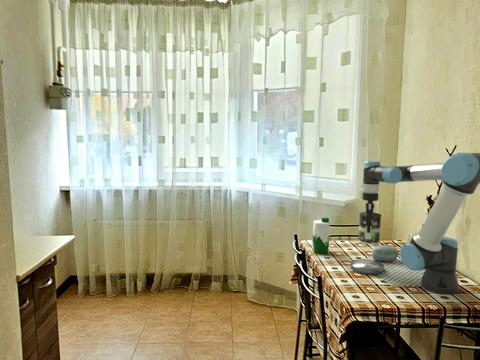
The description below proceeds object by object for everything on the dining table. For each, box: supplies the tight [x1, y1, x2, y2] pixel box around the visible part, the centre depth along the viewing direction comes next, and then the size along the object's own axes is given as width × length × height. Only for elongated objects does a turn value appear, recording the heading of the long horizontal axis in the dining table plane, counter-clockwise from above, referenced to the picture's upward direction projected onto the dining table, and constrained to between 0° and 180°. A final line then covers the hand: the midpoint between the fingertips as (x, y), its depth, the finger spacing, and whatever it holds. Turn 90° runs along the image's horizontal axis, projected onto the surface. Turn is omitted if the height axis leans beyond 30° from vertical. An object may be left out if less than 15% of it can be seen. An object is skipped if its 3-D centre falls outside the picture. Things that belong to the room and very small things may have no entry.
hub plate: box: [350, 258, 385, 276], centre depth 190 cm, size 16×16×3 cm
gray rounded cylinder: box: [371, 244, 399, 262], centre depth 204 cm, size 14×10×10 cm
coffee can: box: [357, 211, 382, 245], centre depth 188 cm, size 10×10×14 cm
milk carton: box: [312, 217, 331, 255], centre depth 217 cm, size 9×9×20 cm
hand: (368, 236), depth 188 cm, fingers closed on coffee can, 10 cm apart
